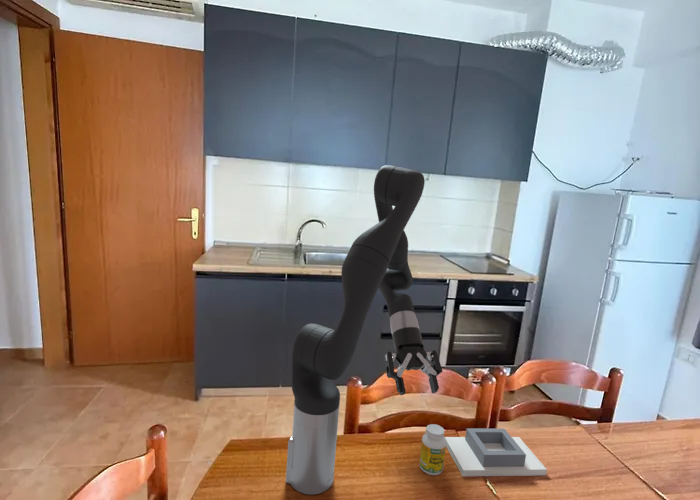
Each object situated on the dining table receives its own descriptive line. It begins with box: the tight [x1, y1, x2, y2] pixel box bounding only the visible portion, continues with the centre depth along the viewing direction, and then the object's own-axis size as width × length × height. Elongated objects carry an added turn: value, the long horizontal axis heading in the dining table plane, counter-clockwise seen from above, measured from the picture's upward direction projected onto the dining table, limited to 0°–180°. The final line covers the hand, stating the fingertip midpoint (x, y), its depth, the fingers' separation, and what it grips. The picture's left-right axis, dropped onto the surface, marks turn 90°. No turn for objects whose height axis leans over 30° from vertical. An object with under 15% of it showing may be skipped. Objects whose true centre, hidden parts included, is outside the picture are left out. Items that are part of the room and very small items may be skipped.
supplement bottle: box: [419, 423, 447, 476], centre depth 91 cm, size 5×5×10 cm
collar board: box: [444, 427, 548, 477], centre depth 96 cm, size 20×12×4 cm, turn 97°
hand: (419, 393), depth 98 cm, fingers open, 8 cm apart
